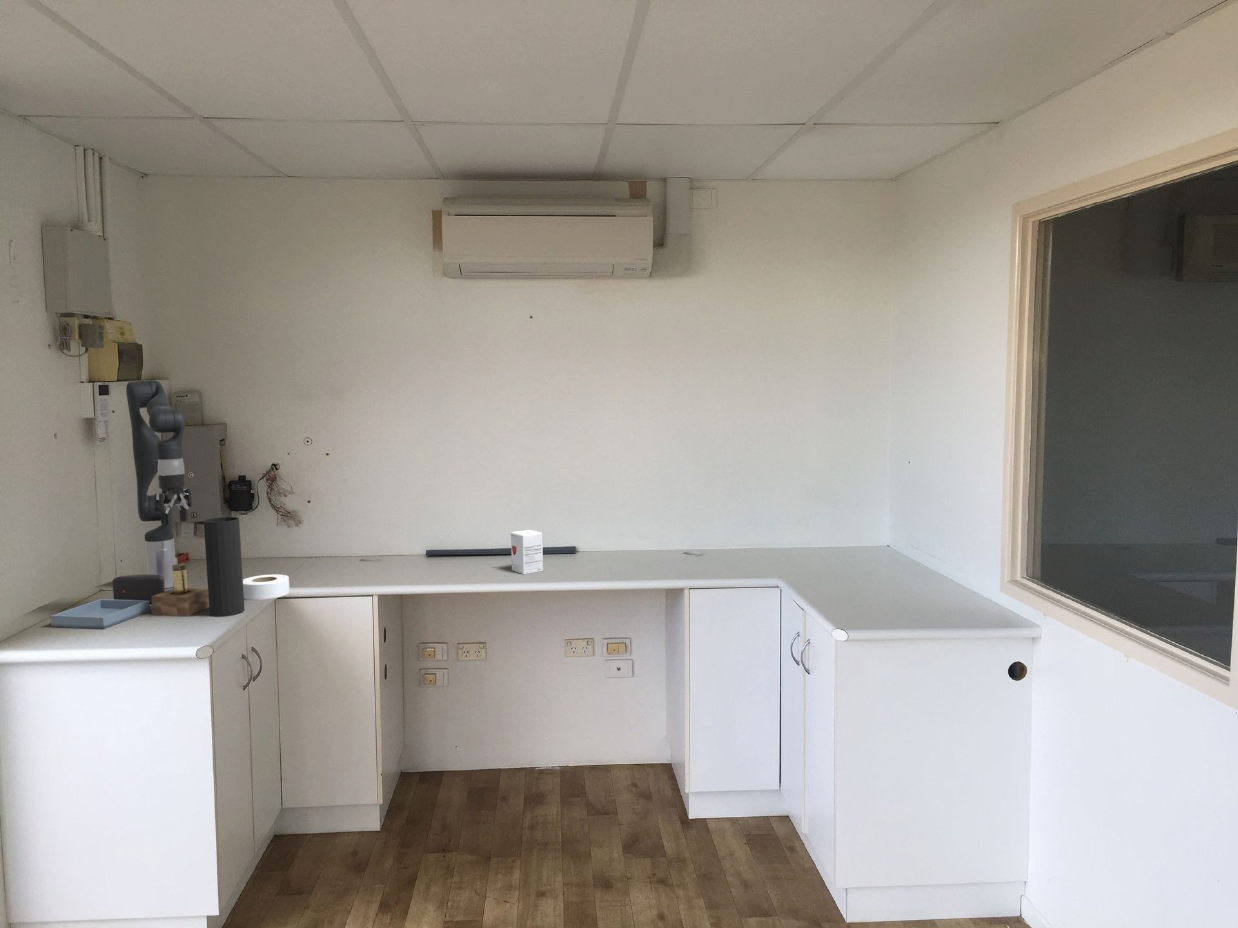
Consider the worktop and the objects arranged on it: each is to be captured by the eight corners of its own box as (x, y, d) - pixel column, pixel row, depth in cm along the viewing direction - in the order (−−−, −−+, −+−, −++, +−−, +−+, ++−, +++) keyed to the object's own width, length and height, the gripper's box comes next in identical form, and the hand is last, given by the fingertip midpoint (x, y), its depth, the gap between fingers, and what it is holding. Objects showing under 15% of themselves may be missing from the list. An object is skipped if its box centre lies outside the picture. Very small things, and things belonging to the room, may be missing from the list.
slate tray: (100, 609, 288) (100, 598, 287) (150, 611, 285) (149, 600, 284) (51, 626, 268) (50, 615, 268) (104, 628, 265) (103, 617, 265)
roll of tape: (231, 596, 303) (230, 580, 302) (271, 587, 316) (270, 571, 315) (258, 602, 294) (257, 586, 294) (299, 592, 307) (298, 577, 307)
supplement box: (511, 570, 336) (509, 531, 334) (531, 567, 341) (530, 529, 340) (523, 574, 328) (522, 535, 327) (543, 571, 334) (542, 532, 332)
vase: (204, 612, 282) (197, 520, 278) (235, 606, 289) (229, 515, 286) (218, 618, 275) (212, 523, 272) (250, 611, 282) (244, 518, 279)
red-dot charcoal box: (169, 600, 299) (168, 573, 298) (164, 603, 294) (162, 576, 293) (119, 602, 297) (117, 574, 296) (113, 605, 292) (111, 577, 291)
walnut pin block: (177, 605, 292) (176, 587, 291) (210, 606, 290) (209, 588, 289) (152, 614, 280) (151, 596, 279) (186, 616, 278) (185, 597, 277)
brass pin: (180, 608, 287) (177, 563, 286) (191, 609, 286) (188, 563, 285) (172, 612, 283) (169, 566, 282) (183, 612, 282) (180, 566, 281)
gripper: (176, 470, 288) (179, 520, 289) (144, 475, 274) (148, 527, 275) (196, 470, 286) (200, 520, 288) (166, 475, 273) (169, 527, 274)
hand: (174, 523), depth 282 cm, fingers open, 8 cm apart
